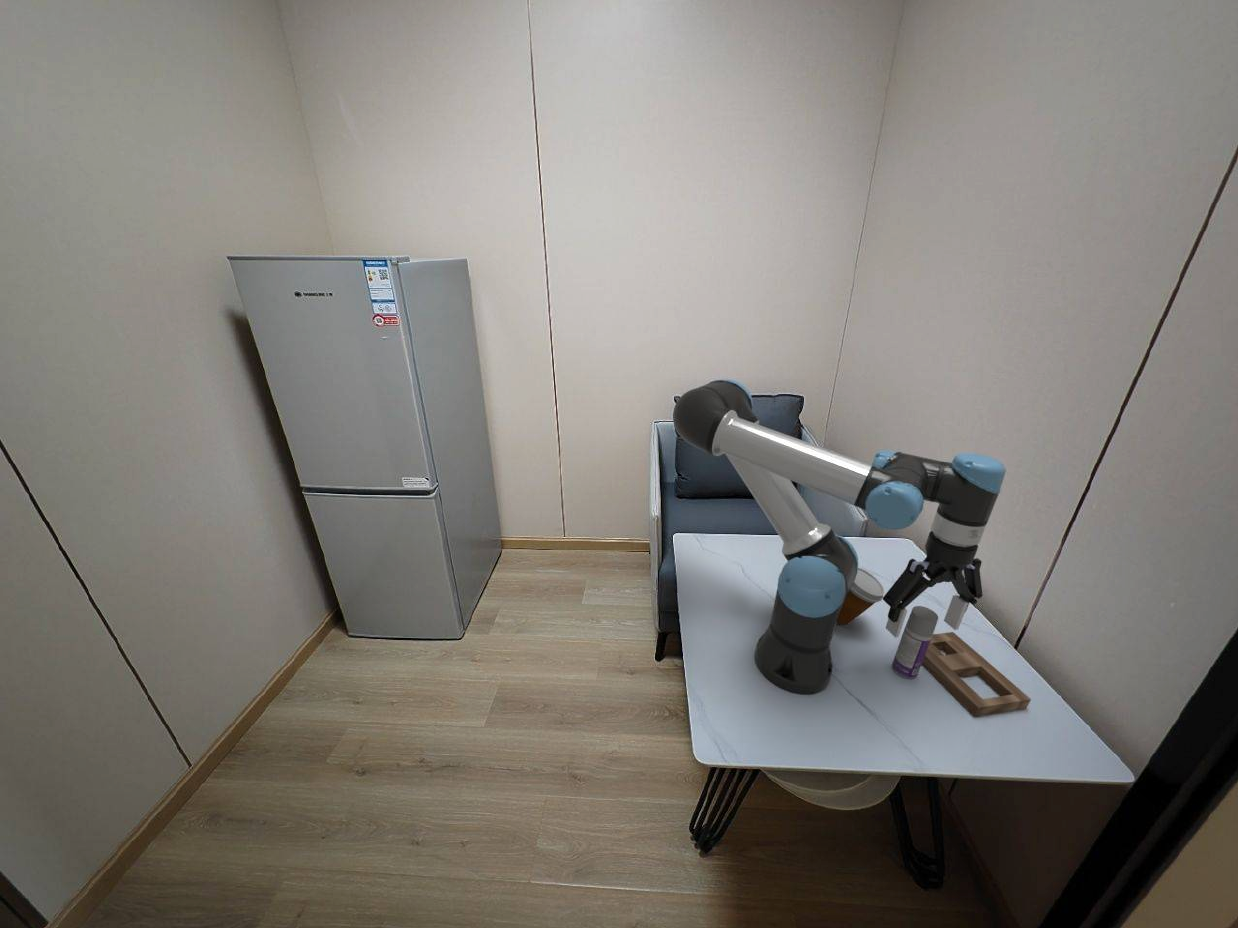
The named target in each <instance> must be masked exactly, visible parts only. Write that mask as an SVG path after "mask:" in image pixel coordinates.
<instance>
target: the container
mask: <svg viewBox="0 0 1238 928" xmlns="http://www.w3.org/2000/svg"><path fill="white" fill-rule="evenodd" d="M938 622H939V615H938V614H937V613H936V612H935V611H934V610H933V609H931V608H929V607H926V606H922V605H916V606H913V607H912V609H911V611H910V614H909V616H908V619H907V622H906V624H905V626H904V629H903V632H902V635H901V638H900V640H899V642H898V643H899V644H898V646H897V649H896V652H895V655H894V657H893V660H892V662H891V663H892V664H891V668H892V670H893V672H895V674H897V675H898V676H900V677H901V678H904V679H908V680H913V679H914V680H915V679H916V678H917V677H918V674H919V671H920V669H921V667H922V662H923V659H924V657H925V654H926V651H927V649H928V646H929V644H930V641H931V639H932V636H933V634H935V633H934V632H935V629H936V626H937V624H938Z"/></svg>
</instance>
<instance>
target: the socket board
mask: <svg viewBox="0 0 1238 928" xmlns="http://www.w3.org/2000/svg"><path fill="white" fill-rule="evenodd" d="M921 666H923V667H924V668H925V669H926V670H927V671H928V672H929V674H931V675H932V676H933V677H934V678H935V679H936V680H937V681H938V682H939V684H940V685H942V687H944V688H945V690H946V691H948V693H950V695H952V696H953V697H954V699H956V701H957V702H958V703H960V705H962V707H963V708H964V709H966V710H967V712H968V713H970V715H971V716H972V717H973V718H977V717H983V716H989V715H997V714H1001V713H1007V712H1014V711H1019V710H1021V711H1022V710H1027V708H1028V706H1029V704H1030V702H1031V701H1032V698H1030V697H1029V696H1028V695H1027V694H1026V693H1025V692H1024V691H1022V690H1021V689H1020V688H1019V687H1018V686H1017V685H1015V684H1014V683H1013V682H1012V681H1011V680H1010V679H1009V678H1007V677H1006V676H1005V675H1003V673H1002V672H1000V671H999V670H998V669H997V668H996V667H994V666H993V665H992V664H991V663H990V662H988V661H987V659H985V658H984V657H983V656H981V654H979V653H978V652H977V651H976V650H975V649H973V648H972V647H971V646H970V645H969V644H968V643H967V642H966V641H964V639H962V638H961V637H960V636H958V634H956V633H955V632H954V631H950V632H949V631H948V632H944V633H943V632H942V633H933V636H932V639H931V641H930V644H929V646H928V649H927V651H926V654H925V657H924V659H923V662H922V664H921ZM974 676H977V677H978V678H979V679H980V680H982V681H983V682H984V683H985V685H987V686H988V687H990V689H992V690H993V691H994V693H996V694H997V695H998V696H994V697H988V698H982V697H981V696H980V695H979V693H978V692H976V691H975V690H974V689H973V688H972V687H971V686H970V685H969V684H967V683H966V682H965V681H964V679H962V678H966V677H974Z"/></svg>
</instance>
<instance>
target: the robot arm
mask: <svg viewBox="0 0 1238 928" xmlns="http://www.w3.org/2000/svg"><path fill="white" fill-rule="evenodd" d="M753 401H754V400H753V397H752V395H751V393H750V391H749V390H748V388H747V387H746V386H744V385H743V384H741V383H740V382H739V381H737V380H735V379H734V380H733V379H729V378H728V379H726V378H725V379H718V380H712V381H710V382H708V383H706V384H704V385H702V386H699V387H696V388H693V389H690V390H688V391H686V392H685V393H683V394H682V395H681V396H680V397H679V398H678V399H677V401H676V403H675V405H674V408H673V411H672V422H673V426H674V429H675V430H676V432H677V434H678V435H679V436H680V437H681V439H683V441H685V442H686V443H688V444H689V445H691V446H692V447H694V448H696V449H698V450H701V451H703V452H705V453H708V454H709V455H713V456H714V457H720V456H722V455H723V454H725V455H726V458H727V459H728V460H729V462H730V463H731V464H732V466H733V467H734V469H735V470H736V472H737V474H738V476H739V477H740V478H741V480H742V482H743V483H744V484H745V486H746V487H747V489H748V490H749V492H750V493H751V495H752V497H753V498H754V499H755V501H756V502H757V504H758V506H759V507H760V508H761V511H762V512H764V514H765V517H766V518H767V519H768V521H769V522H770V524H771V526H772V527H773V528H774V530H775V531H776V533H777V534H778V536H779V537H780V539H781V540H782V544H783V545H782V549H781V553H782V555H783V556H784V557H785V560H787V562H785V564H784V566H783V567H782V569H781V572H780V573H779V575H778V579H777V580H778V581H777V589H776V594H775V598H774V603H773V607H772V612H771V613H772V614H771V617H770V618H771V619H770V622H769V626H767V628H766V630H765V632H764V633H763V634H762V635H761V636H760V637H759V639H758V641H757V643H756V647H755V652H754V660H755V663H756V666H757V667H758V669H759V671H760V672H761V674H762V675H763V676H764V677H766V679H768V680H769V681H770V682H771V683H772V684H774V685H776V686H777V687H779V688H781V689H783V690H785V691H788V692H791V693H795V694H798V695H799V694H801V695H812V694H816V693H819V692H821V691H824V690H826V688H827V687H828V686H829V684H830V681H831V679H832V676H833V675H832V674H833V660H832V654H831V647H830V645H831V641H832V639H833V634H834V631H835V627H836V624H837V623H836V621H837V618H838V615H839V612H840V610H841V607H842V605H843V603H844V600H845V598H846V596H847V594H848V592H849V590H850V587H851V585H852V583H853V582H854V580H855V578H856V575H857V571H858V567H859V557H858V553H857V551H856V549H855V547H854V546H853V544H852V543H851V542H850V541H849V540H848V539H846V538H845V537H844V536H842V535H839V534H837V533H835V532H834V530H833V529H832V528H831V526H830V525H829V524H825V523H820V522H819V521H818V520H817V518H816V517H815V515H814V514H813V512H812V511H811V509H810V508H809V506H808V505H807V503H806V501H805V500H804V499H803V497H802V496H801V494H800V493H799V491H798V490H797V488H796V487H795V485H794V484H793V482H794V483H796V484H799V485H801V486H804V487H806V488H809V489H811V490H814V491H816V492H819V493H821V494H824V495H827V496H829V497H831V498H834V499H837V500H839V501H842V502H845V503H846V504H849V505H852V506H855V507H857V508H859V509H861V510H864V511H865V512H866V514H867V516H868V517H869V519H870V520H871V521H872V522H873V523H875V524H874V525H876V526H879V527H880V528H882V529H886V530H891V531H897V530H898V531H899V530H902V529H907V528H908V527H910V526H911V525H913V524H914V523H915V522H916V520H917V519H918V518H919V516H920V514H921V513H922V511H923V509H924V502H925V501H926V502H932V503H937V504H938V506H937V509H936V511H935V514H934V518H933V519H932V520H933V521H932V523H931V526H930V530H931V531H929V533H928V536H927V540H926V541H925V546H924V548H925V552H926V556H925V558H924V560H923V561H917V560H916V559H915V558H911V559H909V561H908V562H907V565H906V567H905V569H904V571H902V573H901V574H900V576H898V578H897V580H896V581H895V582H894V583H893V585H892V586H891V587H890V588H889V589H888V591H887V592H886V593H884V595H883V599H882V600H883V602H884V603H886V604H887V605H888V606H889V610H888V614H887V618H888V619H887V622H886V626H885V629H886V630H887V631H888V632H889V633H890V634H891V635H892V637H894V638H896V639H897V638H900V637H899V636H900V635H901V632H902V628H903V625H904V622H905V620H906V617H907V613H908V609H906V608H907V607H908V606H909V605H910V604H911V603H912V602H914V601H915V600H916V599H917V598H918V597H919V596H920V595H921V594H923V592H925V591H926V590H927V589H928V588H933V587H935V585H937V584H941V583H943V582H944V583H950V582H951V584H952V585H953V586H952V587H954V589H955V591H956V593H957V594H958V595H957V594H953V595H952V597H951V600H950V603H949V606H948V608H947V610H946V611H947V612H946V614H945V616H944V619H943V622H944V623H946V624H947V625H948V626H949V627H950V628H951V629H953V630H954V631H958V630H959V628H960V625H961V623H962V620H963V617H964V616H965V614H966V613H967V610H968V608H969V605H970V604H971V605H976V604H977V603H978V600H979V599H981V598H982V597H983V595H984V594H983V586H982V578H981V571H980V570H981V567H982V562H983V561H982V560H980V558H978V557H976V554H977V552H978V549H979V544H980V543H981V540H982V537H983V535H984V531H985V530H986V526H987V524H988V522H989V521H990V520H989V519H990V517H991V514H992V512H993V509H994V507H995V505H996V502H997V499H998V497H999V494H1000V493H1001V488H1002V485H1003V482H1004V479H1005V475H1006V471H1007V469H1006V467H1005V465H1004V463H1002V462H1001V461H999V460H998V459H996V458H993V457H992V456H991V457H990V456H988V455H984V454H979V453H969V452H962V453H958V454H956V455H955V456H954V457H953V459H952V460H951V461H950V462H949V461H946V462H945V461H942V460H936V459H933V458H932V459H931V458H927V457H924V456H923V457H922V456H918V455H915V454H908V453H905V452H904V453H903V452H902V451H899V450H897V451H894V450H887V449H881V450H879V451H877V452H876V453H875V454H874V459H873V461H872V464H869V463H867V462H863V461H861V460H858V459H855V458H853V457H850V456H847V455H844V454H841V453H838V452H836V451H833V450H830V449H828V448H825V447H822V446H819V445H816V444H814V443H811V442H809V441H808V442H807V441H805V440H802V439H799V438H797V437H793V436H791V435H788V434H785V433H782V432H781V431H777V430H774V429H771V428H769V427H765V426H763V425H760V420H759V418H758V417H757V416H756V414H755V412H754V411H753V406H754V402H753ZM924 575H926V577H927V578H926V577H925V576H924ZM977 599H978V600H977Z"/></svg>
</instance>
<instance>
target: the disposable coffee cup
mask: <svg viewBox="0 0 1238 928" xmlns="http://www.w3.org/2000/svg"><path fill="white" fill-rule="evenodd" d="M884 595H885V589H884V586H883V584H882V583H881V582H880V580H878V578H877V577H876V576H874V575H873V574H872V573H870V572H869V571H867V570H866V569H863V568H862V567H859V566H858V571H857V575H856V578H855V580H854V582H853V583H852V585H851V587H850V590H849V592H848V594H847V596H846V598H845V600H844V603H843V605H842V607H841V610H840V612H839V615H838V618H837V621H836V624H837V625H840V626H849V625H850V624H851V623H852V622H853V621H854V620H855V619H857V618H858V617H860V615H862V614H864V612H865V611H867V610H868V609H870V608H871V607H872V606H874V605H875V603H879V602H881V601H882V600H883V597H884Z"/></svg>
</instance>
